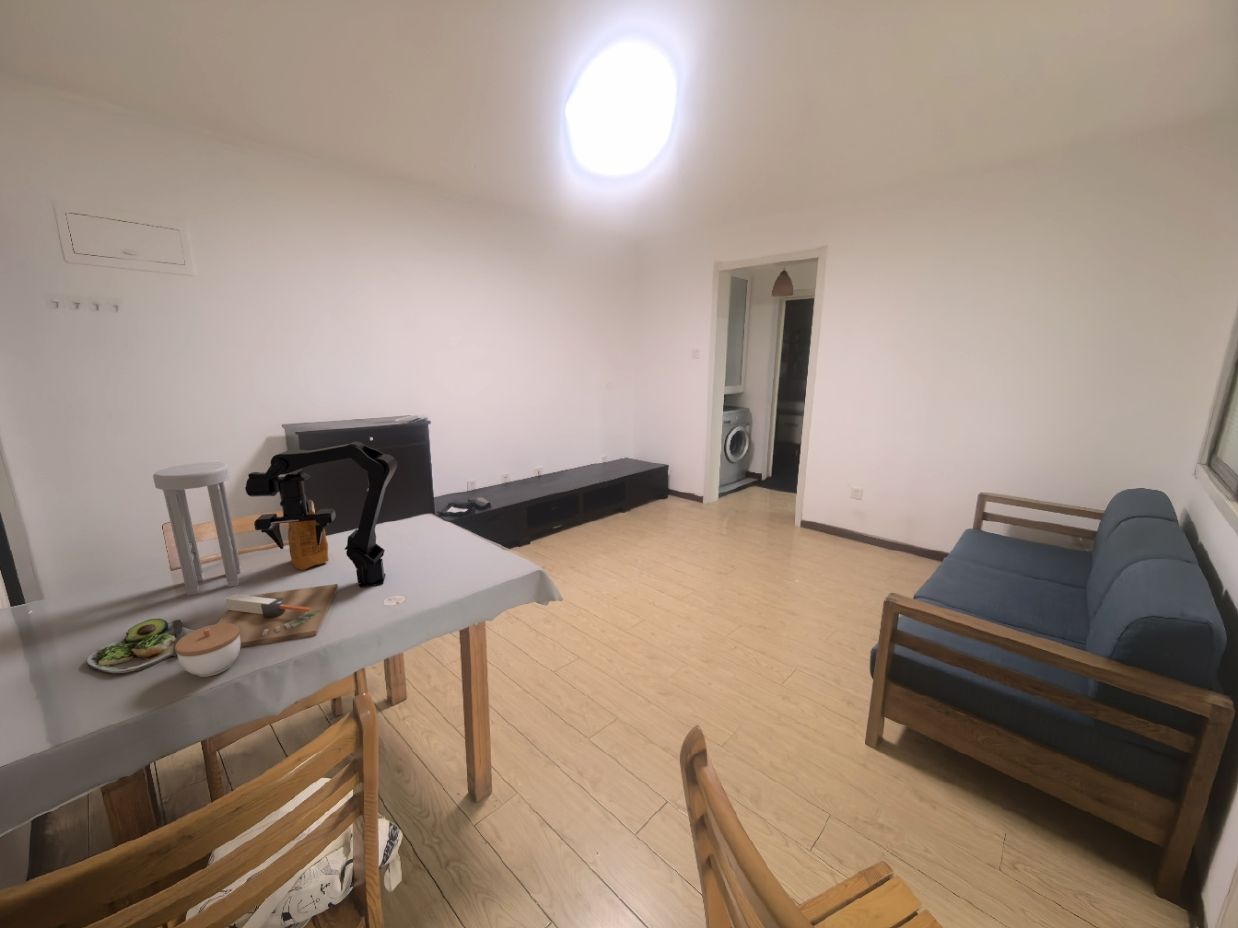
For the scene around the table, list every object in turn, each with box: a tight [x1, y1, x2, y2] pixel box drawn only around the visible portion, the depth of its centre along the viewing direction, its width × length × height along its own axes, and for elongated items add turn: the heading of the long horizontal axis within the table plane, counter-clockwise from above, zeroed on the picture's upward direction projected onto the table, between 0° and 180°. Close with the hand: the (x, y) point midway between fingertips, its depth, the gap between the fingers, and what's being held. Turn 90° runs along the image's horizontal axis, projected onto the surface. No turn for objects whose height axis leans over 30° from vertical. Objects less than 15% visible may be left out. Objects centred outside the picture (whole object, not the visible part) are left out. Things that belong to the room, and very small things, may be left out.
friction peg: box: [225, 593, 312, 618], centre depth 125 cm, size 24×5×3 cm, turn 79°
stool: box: [152, 462, 242, 596], centre depth 139 cm, size 16×16×35 cm
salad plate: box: [85, 617, 194, 674], centre depth 111 cm, size 19×18×5 cm
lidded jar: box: [175, 623, 242, 678], centre depth 105 cm, size 11×11×9 cm
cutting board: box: [216, 583, 339, 648], centre depth 126 cm, size 24×25×2 cm
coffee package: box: [287, 510, 329, 571], centre depth 155 cm, size 10×12×22 cm
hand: (300, 546), depth 140 cm, fingers open, 9 cm apart
